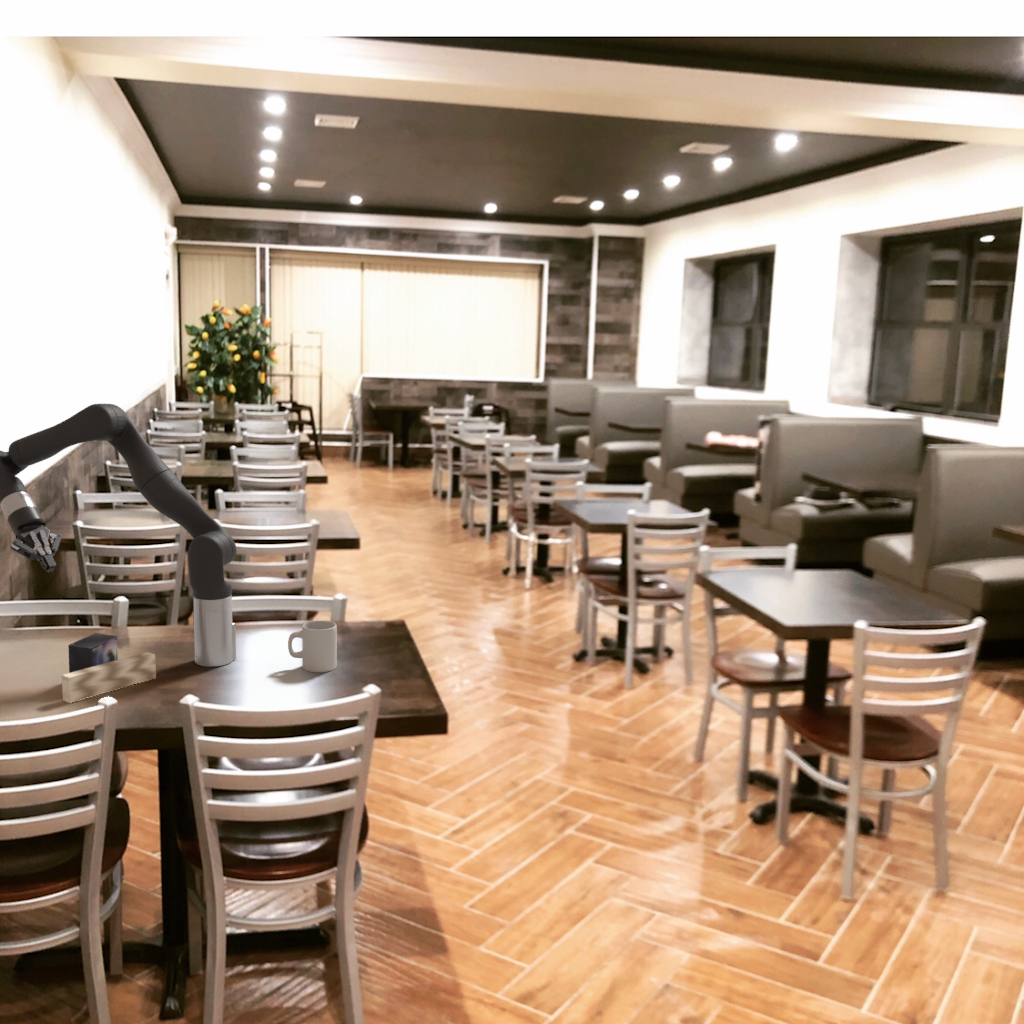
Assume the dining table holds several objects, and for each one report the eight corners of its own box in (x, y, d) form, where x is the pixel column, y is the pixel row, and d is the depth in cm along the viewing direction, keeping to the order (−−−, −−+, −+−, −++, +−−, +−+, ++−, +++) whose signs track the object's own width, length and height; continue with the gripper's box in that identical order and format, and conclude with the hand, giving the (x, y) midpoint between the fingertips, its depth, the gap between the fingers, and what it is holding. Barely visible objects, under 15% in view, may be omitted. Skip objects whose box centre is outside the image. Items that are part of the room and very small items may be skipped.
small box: (93, 691, 232) (91, 647, 230) (68, 688, 234) (66, 644, 232) (120, 676, 242) (118, 634, 241) (96, 674, 244) (94, 632, 242)
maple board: (148, 675, 243) (147, 651, 242) (156, 678, 242) (155, 654, 241) (62, 700, 226) (61, 674, 225) (70, 703, 224) (69, 677, 223)
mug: (336, 661, 259) (336, 620, 257) (337, 672, 250) (337, 629, 249) (288, 662, 256) (288, 621, 254) (287, 673, 248) (287, 630, 246)
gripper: (1, 508, 244) (30, 565, 239) (52, 502, 255) (82, 556, 250) (-10, 526, 248) (20, 583, 243) (42, 519, 258) (71, 574, 254)
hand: (51, 569), depth 246 cm, fingers closed
